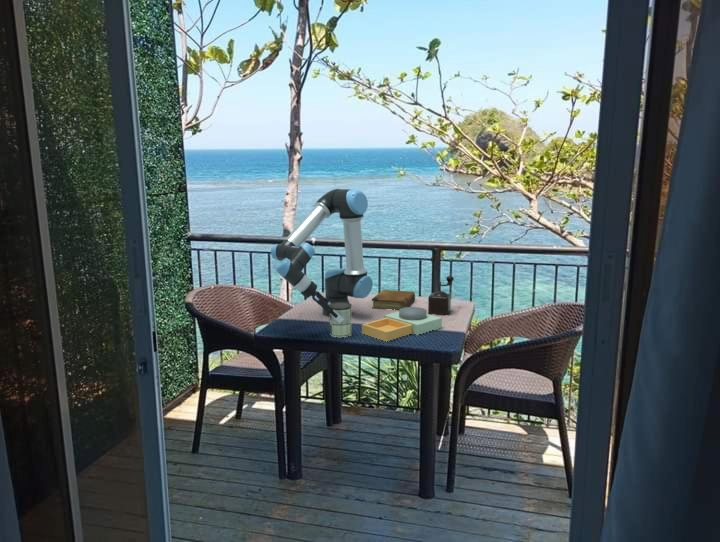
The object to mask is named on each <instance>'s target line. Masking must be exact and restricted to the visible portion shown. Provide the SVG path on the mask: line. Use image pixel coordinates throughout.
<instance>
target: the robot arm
mask: <svg viewBox="0 0 720 542" xmlns="http://www.w3.org/2000/svg"><path fill="white" fill-rule="evenodd" d="M368 205H369V203H368V198H367V196H366V194H365V193H364V192H363V191H362V190H359V189H358V190H357V189H353V188H352V189H351V188H348V189H347V188H342V189H341V188H334V189H331V190H330V191H328V192H326V193H325V194H323V195H322V196H321V197H319V198H318V200H317V201H316V202H315V203H314V204H313V208H312V209H311V210H310V211H309V213H308V214H306V216H305V217H304V218H303V219H302V220H301V221H300V222H299V223H298V225H297V226H296V227H295V228H294V229H293V230H292V231H291V232H290V234H289V235H288V236H287V237H286V238H285V239H284V240H283V241H282V242H280V243H276V244H274V245H273V246H272V247H271V249H270V255H271V257H272V258H273V259H274V260H275V261H279V263H278V264H277V266H276V268H275V271H276V272H277V273H278V274H279V275H280V276H281V277H282V278H283V279H285V280H286V281H287V282H288V283H289V284H290V285H291V286H292V287H293V290H297V292H299V293H300V294H301V295H302V296H303V297H304V298H305V299H308V298H310V297H311V298H312V300H313V301H314V302H315V303H317V305H318V306H320V307H321V308H322V310H321V311H322V314H323V315H325V316H329V317H330V315H331V316H332V317H333V318H334V319H335V320H336V321H338V322H339V323H341V322H342V321H343V320H344V318H342V317H341V316H340V315H339V314H338V313H337V312H336V311H335V310H334V309H332V308H331V307H330V306H329V305H330V304H331V303H335V302H347V303H350V300H349V297H351V298H355V299H365V298H367V297H368V296H369V295H370V293H371V292H372V289H373V285H374V284H373V278H372V277H371V276H369V275H368V270H367V269H366V268H365V267H364V251H363V250H364V249H363V239H362V237H363V236H362V234H363V233H362V224H361V223H362V222H361V221H362V219H363V218H364V214H365V213H366V212H367V210H368ZM336 213H338V214H339V219H340V220H341V221H342V224H343V236H344V237H343V238H344V250H345V254H344V255H345V264H346V268H333V269H329V270H326V271H325V274H324V290H325V292H324V293H325V295H324V296H325V297H324V296H323V295H322V293H320V291H318V290H317V289H318V285H317V284H316V283H315V282H314V281H313V280H311V279H312V278H310V277H309V276H307V274H305V273H304V272H303V270H304V268H305V267H306V266H307V264H308V263H309V262H310V261H311V260H312V258H313V256H314V255H315V252H316V251H315V248H314V246H312V245H311V244H310V243H308V242H306V241H307V240H308V238H309V237H310V236H311V235H312V234H313V233H314V232H315V230H316V229H317V228H319V226H320V225H321V224H322V223H323V222H324V220H325V219H329V218H330V217H331V216H332V215H333V214H336ZM285 280H284V281H285Z"/></svg>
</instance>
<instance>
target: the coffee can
mask: <svg viewBox="0 0 720 542" xmlns="http://www.w3.org/2000/svg"><path fill="white" fill-rule="evenodd" d="M329 306H330V307H331V308H332V309H334V310H335V311H336V312H337V313H338V314H339V315H340V316H341V317H342V318H344V320H343V321H342V322H341V323H339V322H338V321H336V320H335V319H334V318H333V317H332V316H331V315H330V316H329V336H330V335H331V337H332V338H336V337H337V339H343V338H342V337H344V338H348V336H349V337H351V336H352V335H353V334H352V332H353V331H352V330H353V329H352V303H351V302H349V303H347V302H335V303H331V304H330V305H329Z"/></svg>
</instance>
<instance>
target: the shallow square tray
mask: <svg viewBox="0 0 720 542" xmlns="http://www.w3.org/2000/svg"><path fill="white" fill-rule="evenodd" d="M361 334H362V335H364V334H365V336H367V335H368V337H370V336H371V337H370V338H373V337H374V339H376V338H377V340H379V339H380V340H379V341H382V340H383V341H382V342H385V341H386V343H388V342H391V341H390V340H392V341H394V340H393V339H395V340H397V339H396V338H398V339H400V338H399V337H402V336H405V337H407V336H406V335H408V336H410V335H409V334H412V325H411V324H408V323H404V322H401V321H398V320H394V319H391V318H384V317H383V318H380V319H377V320H372V321H369V322H366V323H362V324H361ZM412 335H413V334H412ZM402 338H403V337H402ZM387 341H388V342H387Z"/></svg>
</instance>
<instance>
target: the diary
mask: <svg viewBox="0 0 720 542" xmlns="http://www.w3.org/2000/svg"><path fill="white" fill-rule="evenodd" d="M415 300H416V293H415V291H410V290H392V289H390V290H389V289H382V290H380V292H378V293H377V294H376V295H374V297H373V298H371V301H372V307H371V309H373V310H374V309H375V310H386V309H392V310H391V311H399V310H400V309H401V308H405V307H411V305H412V304H413V303H414V302H415ZM394 309H395V310H394Z"/></svg>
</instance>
